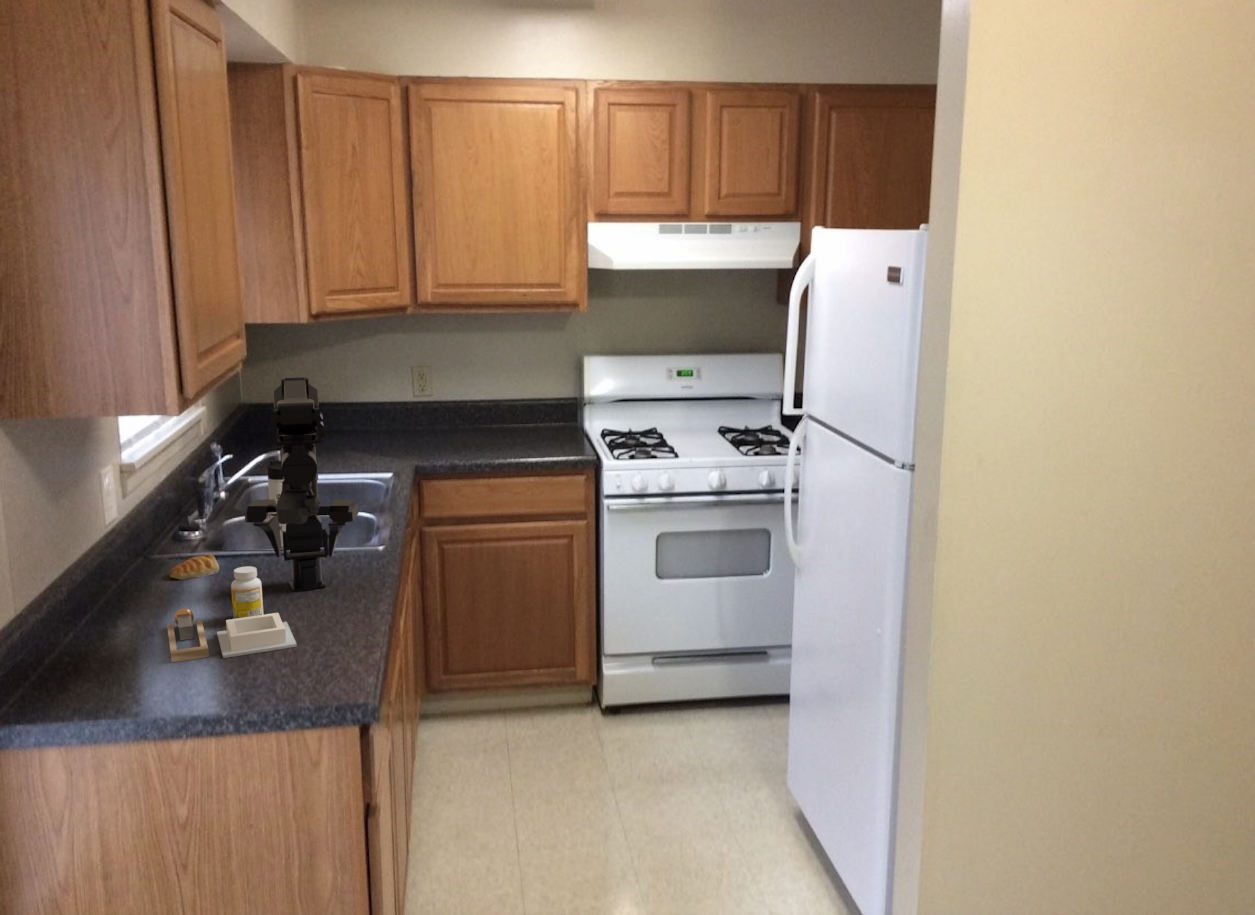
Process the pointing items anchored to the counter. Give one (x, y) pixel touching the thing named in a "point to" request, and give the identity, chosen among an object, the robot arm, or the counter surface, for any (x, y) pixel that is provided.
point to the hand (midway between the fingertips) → (305, 556)
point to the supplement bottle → (246, 593)
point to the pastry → (195, 567)
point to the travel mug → (276, 487)
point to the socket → (255, 635)
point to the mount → (189, 652)
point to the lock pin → (184, 623)
